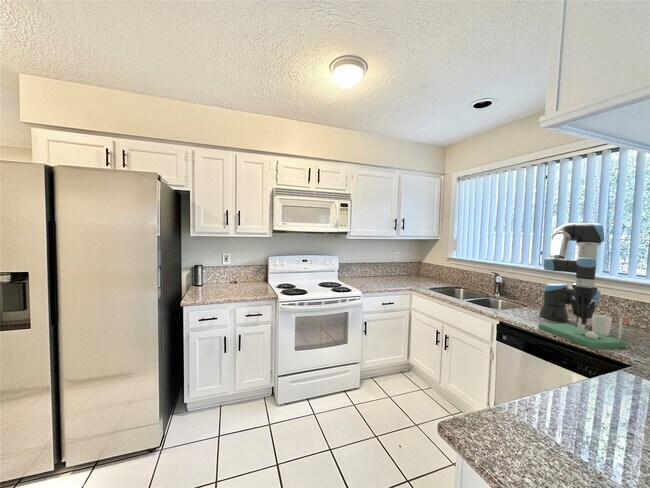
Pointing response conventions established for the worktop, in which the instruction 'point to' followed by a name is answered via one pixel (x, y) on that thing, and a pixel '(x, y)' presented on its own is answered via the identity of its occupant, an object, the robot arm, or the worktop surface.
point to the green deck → (579, 335)
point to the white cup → (601, 324)
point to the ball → (591, 335)
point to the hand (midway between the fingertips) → (580, 329)
